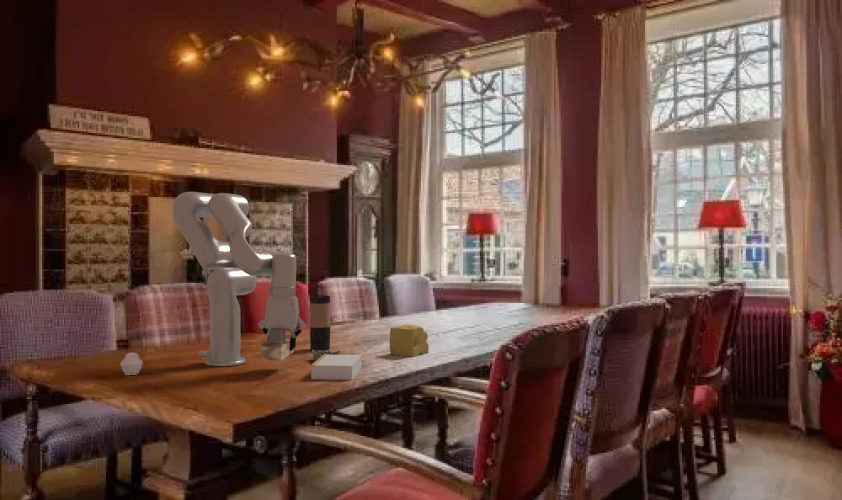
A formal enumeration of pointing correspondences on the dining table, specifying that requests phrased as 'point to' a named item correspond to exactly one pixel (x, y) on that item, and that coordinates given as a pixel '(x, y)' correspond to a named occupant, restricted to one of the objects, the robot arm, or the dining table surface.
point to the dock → (336, 367)
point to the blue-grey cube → (277, 335)
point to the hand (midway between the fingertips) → (281, 348)
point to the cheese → (408, 340)
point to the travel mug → (320, 323)
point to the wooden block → (275, 350)
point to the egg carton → (322, 353)
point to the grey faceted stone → (131, 364)
